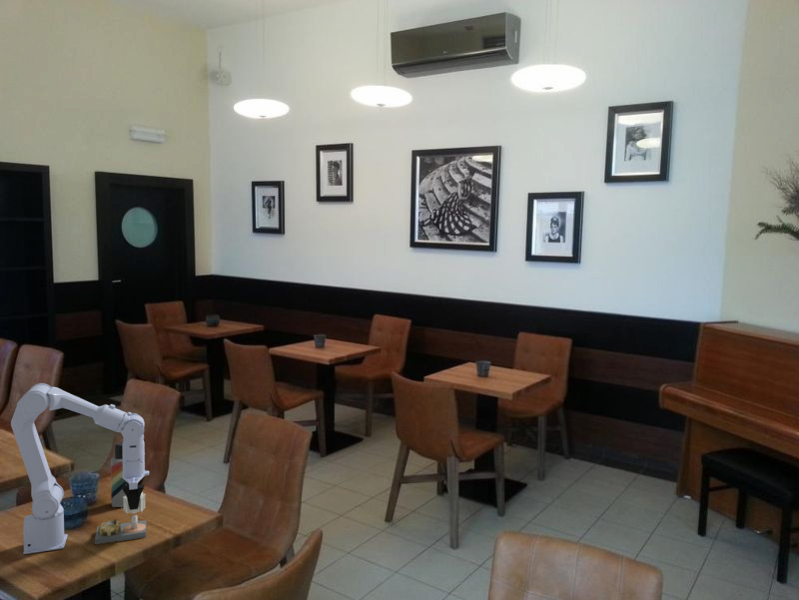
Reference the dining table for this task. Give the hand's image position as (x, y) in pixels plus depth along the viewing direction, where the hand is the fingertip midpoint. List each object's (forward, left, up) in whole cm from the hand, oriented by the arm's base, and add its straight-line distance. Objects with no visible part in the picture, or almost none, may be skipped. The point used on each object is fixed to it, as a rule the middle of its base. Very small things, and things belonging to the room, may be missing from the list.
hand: (134, 504), depth 172 cm
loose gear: (0, 0, -1) cm, 1 cm away
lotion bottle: (-4, +23, -9) cm, 25 cm away
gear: (-6, 0, -7) cm, 9 cm away
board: (-3, +1, -8) cm, 9 cm away
